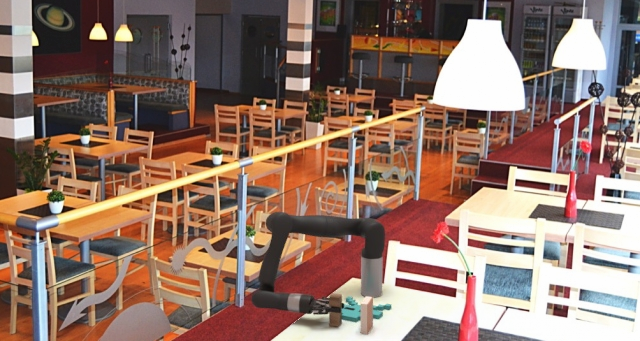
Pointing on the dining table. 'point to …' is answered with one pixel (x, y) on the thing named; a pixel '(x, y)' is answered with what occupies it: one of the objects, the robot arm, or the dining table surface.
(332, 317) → the block
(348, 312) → the alien figure
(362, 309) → the tile
